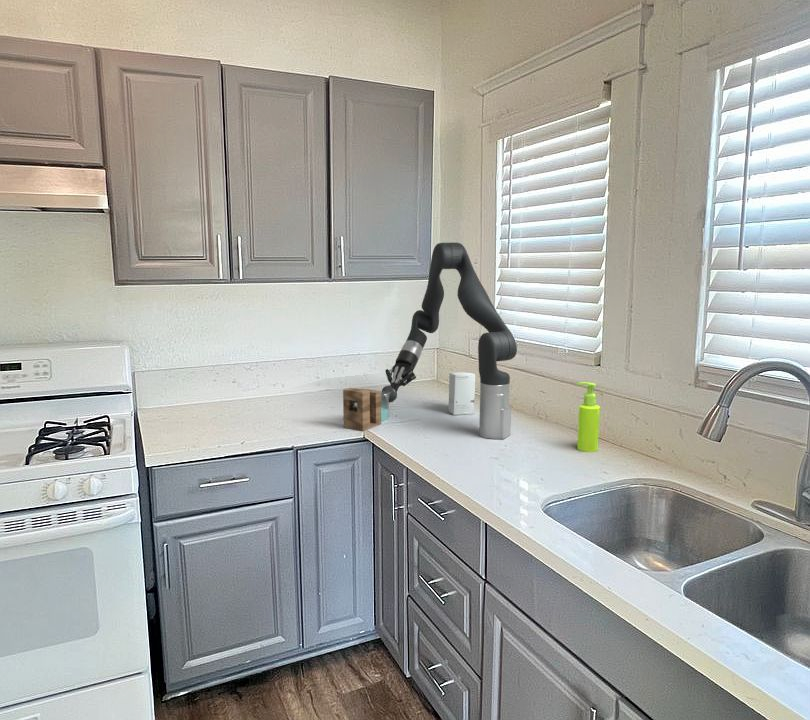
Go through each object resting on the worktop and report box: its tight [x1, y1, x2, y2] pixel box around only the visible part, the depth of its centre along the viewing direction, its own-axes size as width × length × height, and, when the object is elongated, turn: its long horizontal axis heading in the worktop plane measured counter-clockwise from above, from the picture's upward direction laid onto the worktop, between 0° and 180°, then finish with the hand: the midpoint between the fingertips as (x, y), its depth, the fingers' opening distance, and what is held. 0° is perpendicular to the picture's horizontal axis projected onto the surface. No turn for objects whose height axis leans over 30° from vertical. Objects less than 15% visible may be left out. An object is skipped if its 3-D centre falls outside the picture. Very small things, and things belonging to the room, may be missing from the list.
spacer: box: [381, 408, 389, 423], centre depth 213 cm, size 5×6×4 cm
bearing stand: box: [342, 387, 382, 432], centre depth 205 cm, size 8×10×13 cm
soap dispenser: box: [576, 381, 601, 453], centre depth 180 cm, size 6×7×20 cm
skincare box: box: [447, 371, 476, 416], centre depth 222 cm, size 8×6×15 cm
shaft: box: [351, 384, 398, 418], centre depth 210 cm, size 6×21×10 cm, turn 147°
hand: (391, 393), depth 219 cm, fingers closed
